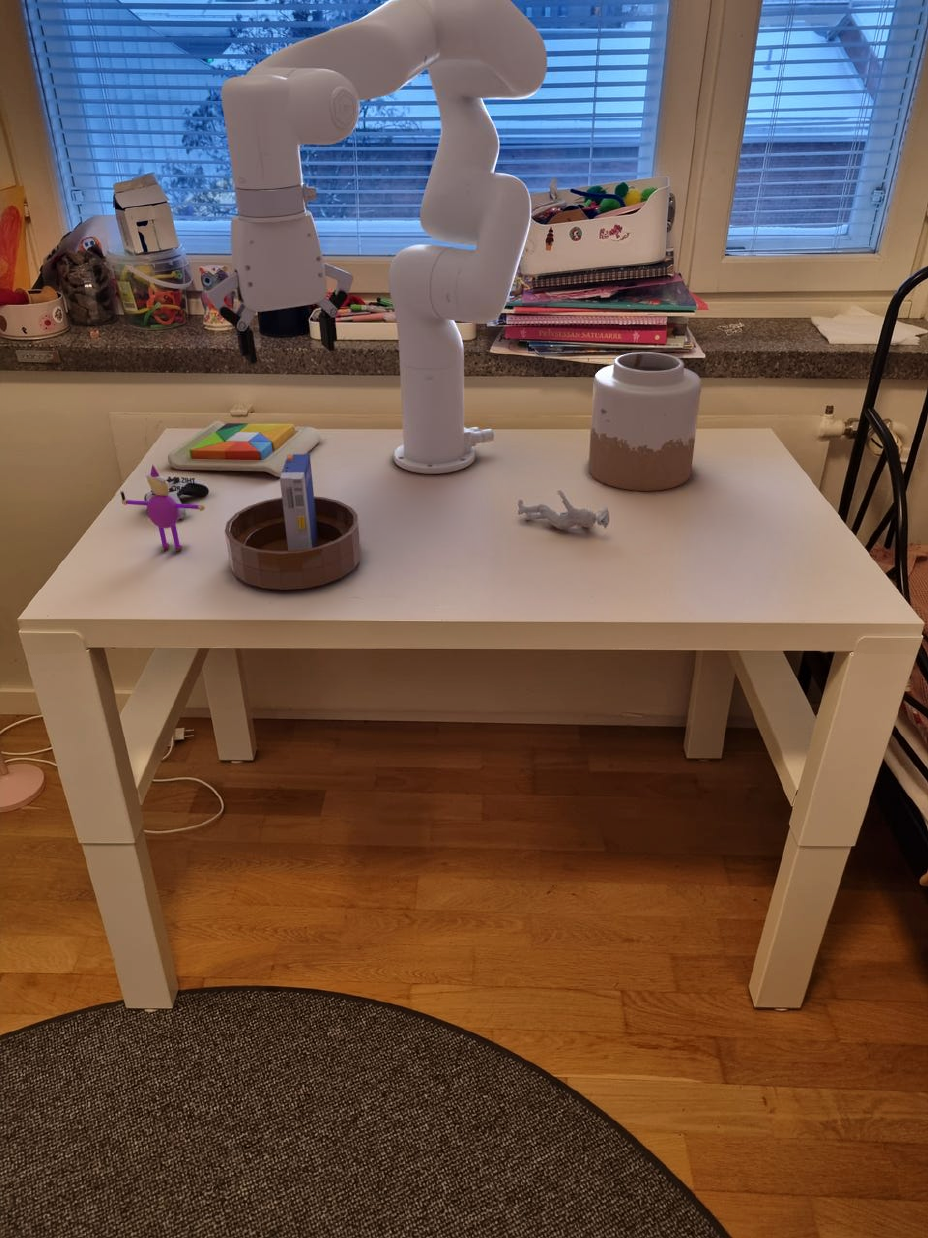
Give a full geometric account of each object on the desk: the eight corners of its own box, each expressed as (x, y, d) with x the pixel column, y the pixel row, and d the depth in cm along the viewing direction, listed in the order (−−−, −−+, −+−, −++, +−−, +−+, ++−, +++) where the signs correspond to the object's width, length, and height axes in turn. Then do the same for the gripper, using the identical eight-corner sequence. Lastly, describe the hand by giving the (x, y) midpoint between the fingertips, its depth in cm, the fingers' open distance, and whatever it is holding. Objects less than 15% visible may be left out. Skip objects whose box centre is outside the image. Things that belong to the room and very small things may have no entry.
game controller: (185, 515, 132) (151, 485, 131) (164, 538, 135) (130, 508, 133) (214, 487, 140) (182, 458, 139) (193, 509, 143) (162, 481, 141)
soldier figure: (535, 515, 135) (617, 502, 130) (535, 548, 134) (618, 535, 129) (512, 494, 129) (598, 478, 123) (512, 528, 127) (598, 513, 122)
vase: (672, 499, 137) (685, 384, 128) (572, 480, 143) (578, 368, 135) (703, 462, 149) (716, 354, 140) (609, 446, 155) (617, 341, 146)
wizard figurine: (216, 549, 126) (202, 462, 119) (206, 560, 123) (191, 472, 117) (136, 542, 128) (118, 456, 121) (124, 553, 125) (105, 466, 119)
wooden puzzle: (220, 430, 163) (217, 409, 161) (323, 440, 159) (321, 419, 157) (166, 469, 149) (162, 447, 147) (278, 481, 144) (275, 459, 143)
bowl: (338, 524, 131) (334, 487, 129) (378, 576, 119) (376, 536, 116) (219, 548, 126) (212, 509, 123) (248, 605, 113) (242, 564, 110)
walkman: (297, 537, 127) (287, 451, 121) (318, 537, 127) (309, 451, 121) (289, 566, 120) (278, 476, 114) (311, 565, 120) (301, 476, 114)
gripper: (333, 189, 113) (347, 335, 123) (186, 205, 107) (212, 357, 117) (355, 199, 108) (368, 351, 117) (200, 216, 102) (227, 375, 111)
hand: (290, 354), depth 117 cm, fingers open, 9 cm apart
